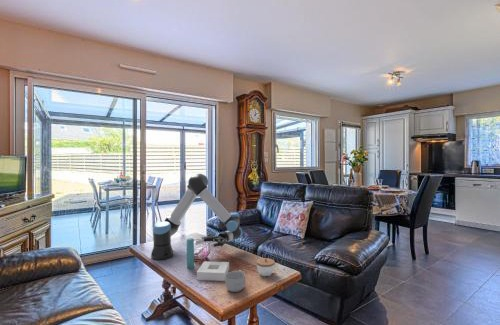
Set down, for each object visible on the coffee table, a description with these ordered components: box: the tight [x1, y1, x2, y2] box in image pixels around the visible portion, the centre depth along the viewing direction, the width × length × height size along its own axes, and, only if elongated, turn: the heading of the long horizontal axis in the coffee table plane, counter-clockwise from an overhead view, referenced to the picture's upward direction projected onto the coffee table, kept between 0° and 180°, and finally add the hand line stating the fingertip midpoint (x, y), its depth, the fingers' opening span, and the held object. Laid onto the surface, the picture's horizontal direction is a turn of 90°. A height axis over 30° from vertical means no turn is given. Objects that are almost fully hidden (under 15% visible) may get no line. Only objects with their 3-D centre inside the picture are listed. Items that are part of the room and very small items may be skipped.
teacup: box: [224, 269, 246, 293], centre depth 145 cm, size 14×11×8 cm
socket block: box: [196, 260, 230, 282], centre depth 162 cm, size 16×16×4 cm
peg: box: [186, 237, 195, 270], centre depth 172 cm, size 4×4×18 cm
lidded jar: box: [256, 257, 276, 277], centre depth 161 cm, size 11×11×9 cm
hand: (202, 244), depth 180 cm, fingers open, 13 cm apart
